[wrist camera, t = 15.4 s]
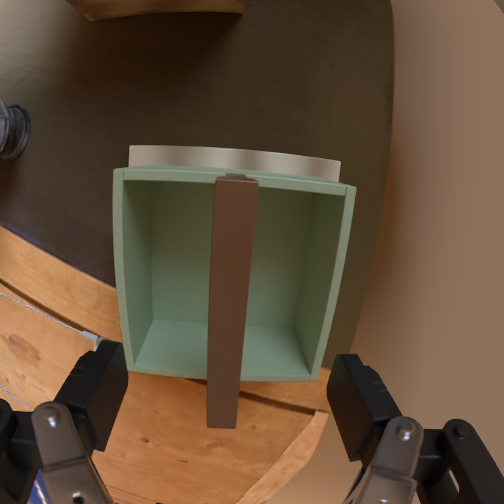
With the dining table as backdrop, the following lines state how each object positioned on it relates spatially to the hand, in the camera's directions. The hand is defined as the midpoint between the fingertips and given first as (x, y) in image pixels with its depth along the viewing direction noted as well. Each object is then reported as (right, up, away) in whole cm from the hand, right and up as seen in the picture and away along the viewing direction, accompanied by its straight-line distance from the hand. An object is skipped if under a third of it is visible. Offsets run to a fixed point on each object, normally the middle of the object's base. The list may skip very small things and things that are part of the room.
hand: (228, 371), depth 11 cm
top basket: (-1, +4, +13) cm, 14 cm away
